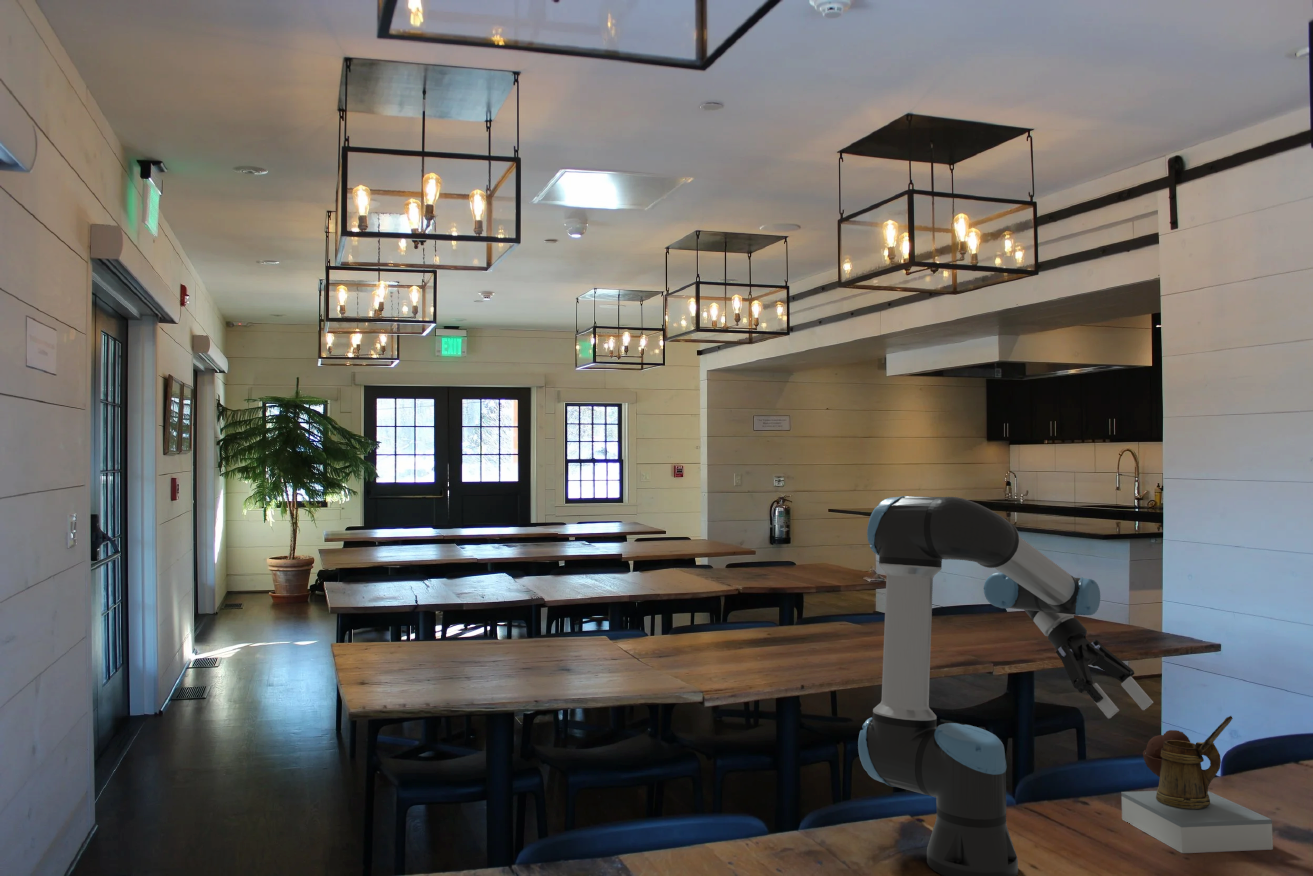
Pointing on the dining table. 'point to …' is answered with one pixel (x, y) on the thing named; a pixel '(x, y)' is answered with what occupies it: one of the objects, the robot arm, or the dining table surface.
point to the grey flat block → (1198, 824)
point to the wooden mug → (1188, 771)
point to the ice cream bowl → (1155, 746)
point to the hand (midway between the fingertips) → (1131, 710)
